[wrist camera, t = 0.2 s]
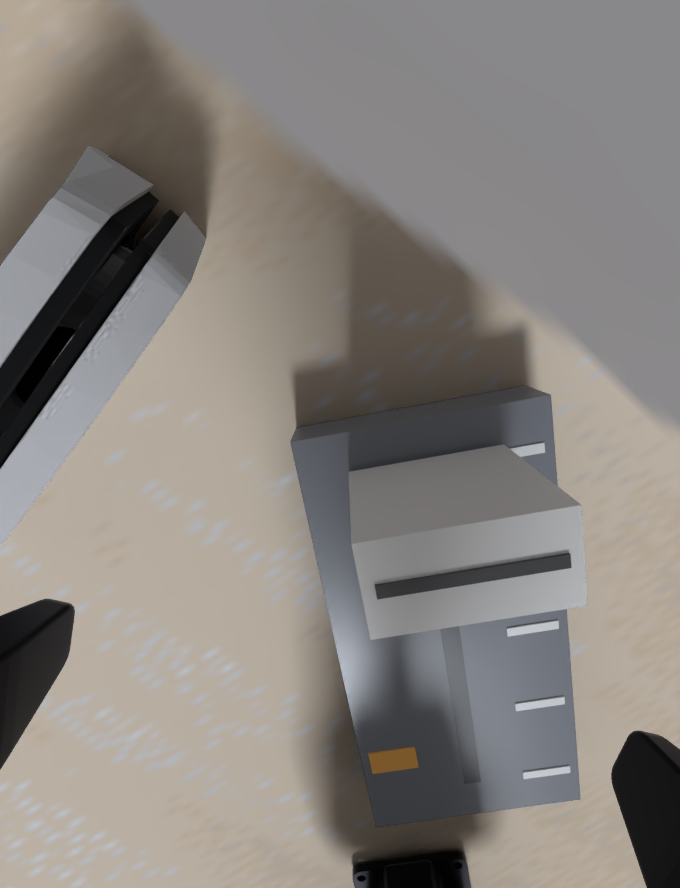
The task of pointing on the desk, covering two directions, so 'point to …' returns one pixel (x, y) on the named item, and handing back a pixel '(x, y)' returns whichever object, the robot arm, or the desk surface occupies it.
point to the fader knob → (463, 542)
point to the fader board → (443, 633)
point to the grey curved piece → (81, 314)
